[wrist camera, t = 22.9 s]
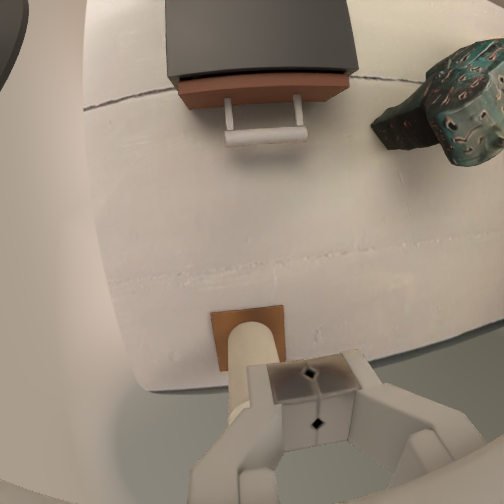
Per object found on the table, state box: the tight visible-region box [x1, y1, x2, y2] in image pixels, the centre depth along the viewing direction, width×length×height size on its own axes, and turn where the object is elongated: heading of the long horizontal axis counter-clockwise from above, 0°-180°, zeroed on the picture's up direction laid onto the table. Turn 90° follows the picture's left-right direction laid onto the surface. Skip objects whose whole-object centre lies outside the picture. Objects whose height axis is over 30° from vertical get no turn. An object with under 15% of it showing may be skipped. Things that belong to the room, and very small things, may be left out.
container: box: [228, 322, 280, 425], centre depth 29 cm, size 5×5×13 cm
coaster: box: [211, 305, 286, 372], centre depth 36 cm, size 8×8×1 cm
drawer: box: [178, 70, 350, 147], centre depth 24 cm, size 18×13×7 cm
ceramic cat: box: [371, 38, 504, 167], centre depth 20 cm, size 20×6×20 cm, turn 132°
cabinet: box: [165, 0, 359, 91], centre depth 22 cm, size 15×15×9 cm
